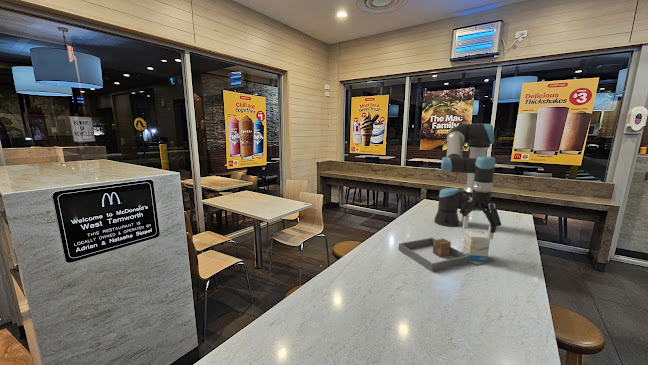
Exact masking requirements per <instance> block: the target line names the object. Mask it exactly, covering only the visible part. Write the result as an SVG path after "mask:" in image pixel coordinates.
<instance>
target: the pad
mask: <svg viewBox="0 0 648 365" xmlns="http://www.w3.org/2000/svg"><path fill="white" fill-rule="evenodd" d="M461 252H462V253H463V251H461ZM494 262H496V259H493V258H492V257H489V256H488V260H487V261H479V260H469V262H468V263H470V264H472V265H474V266H476V267H477V266H480V265H485V264H489V263H494Z"/></svg>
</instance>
